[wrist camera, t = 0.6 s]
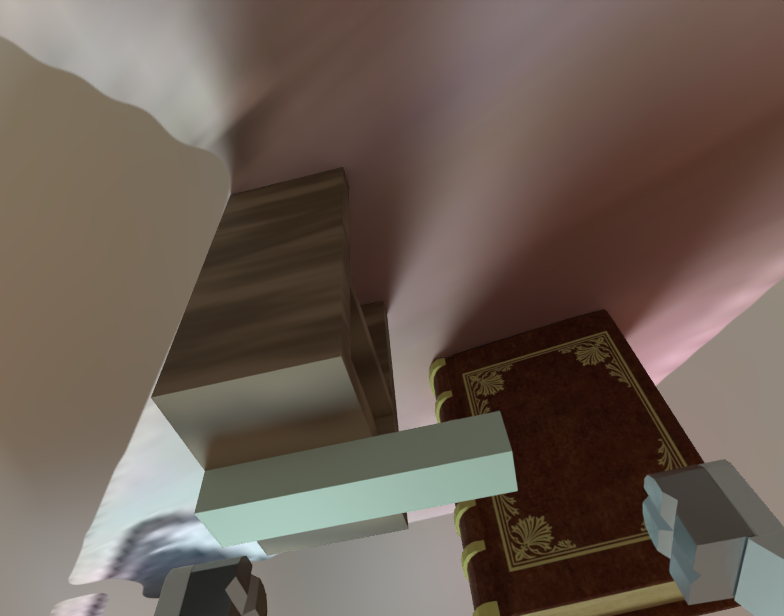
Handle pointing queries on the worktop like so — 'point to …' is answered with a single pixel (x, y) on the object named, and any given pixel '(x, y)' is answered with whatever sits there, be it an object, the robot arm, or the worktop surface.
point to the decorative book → (567, 474)
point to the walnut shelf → (281, 343)
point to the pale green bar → (358, 480)
